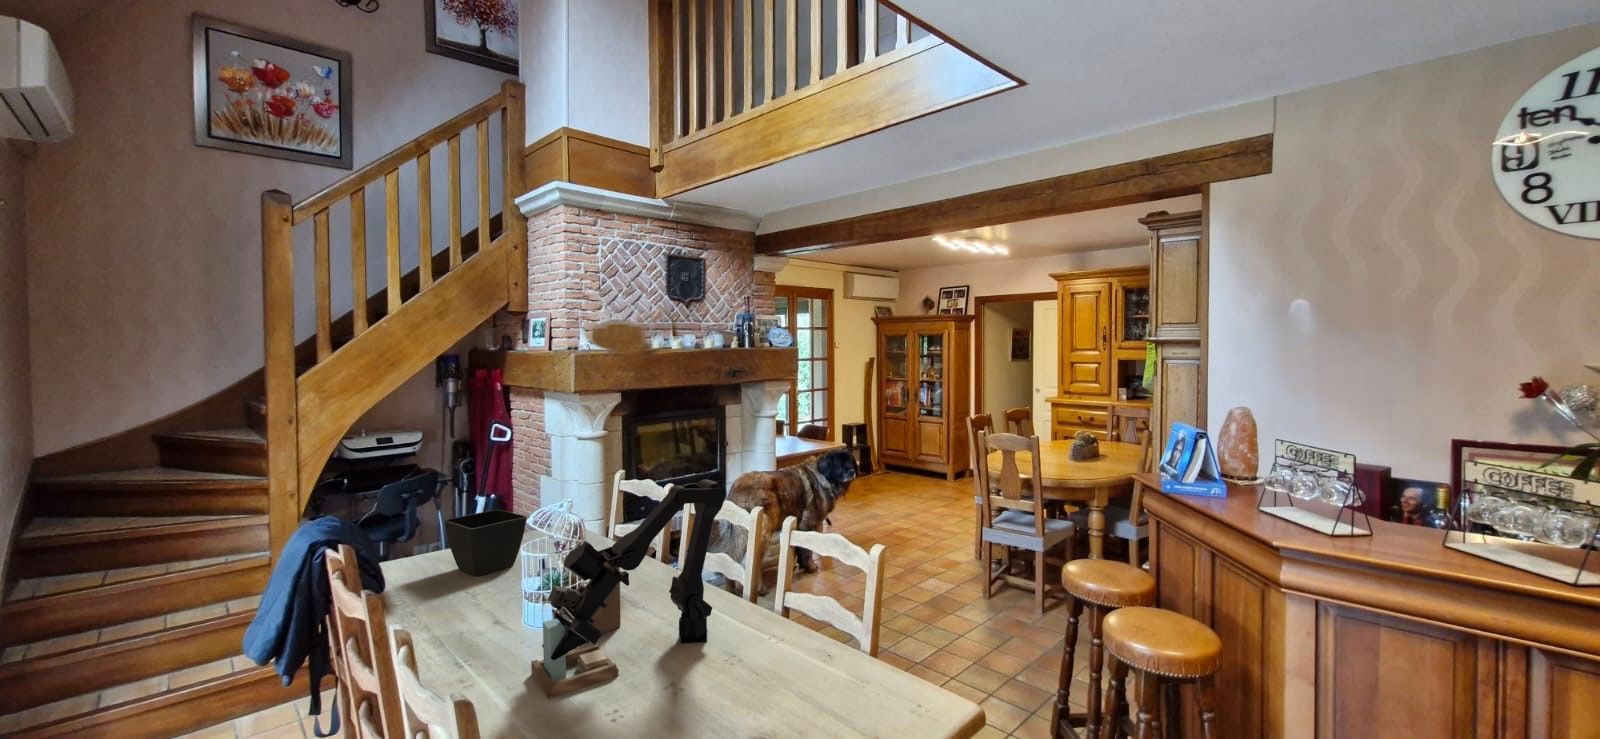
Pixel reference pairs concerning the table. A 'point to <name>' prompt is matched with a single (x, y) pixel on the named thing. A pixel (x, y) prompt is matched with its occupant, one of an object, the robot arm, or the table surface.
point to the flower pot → (485, 540)
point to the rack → (575, 681)
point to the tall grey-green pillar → (551, 639)
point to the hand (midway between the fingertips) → (547, 653)
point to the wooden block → (609, 611)
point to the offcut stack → (591, 661)
